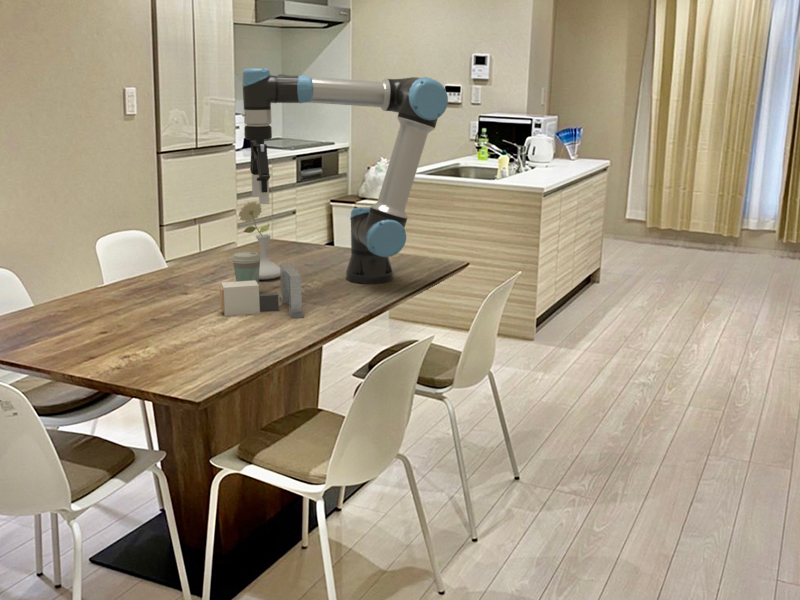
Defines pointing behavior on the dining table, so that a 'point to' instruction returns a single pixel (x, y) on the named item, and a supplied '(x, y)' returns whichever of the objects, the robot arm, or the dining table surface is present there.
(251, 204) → the flower in vase
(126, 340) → the dining table surface
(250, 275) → the coffee cup
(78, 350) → the dining table surface
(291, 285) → the bar
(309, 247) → the dining table surface
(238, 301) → the plug
